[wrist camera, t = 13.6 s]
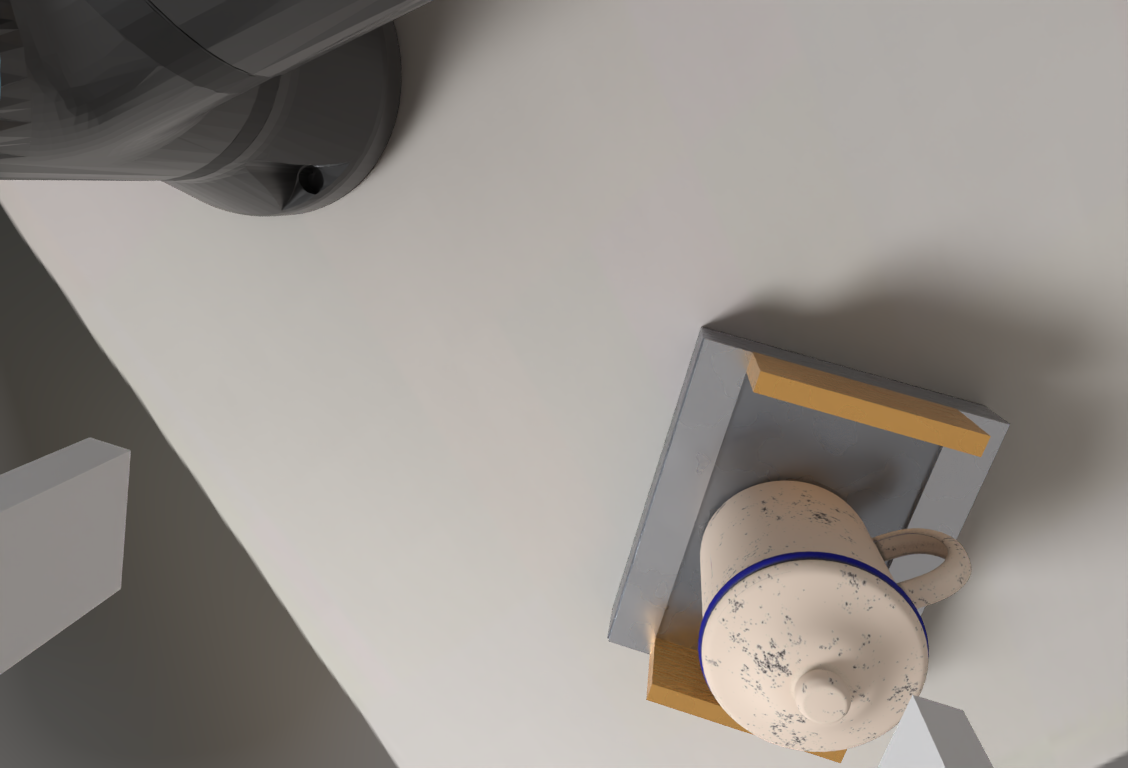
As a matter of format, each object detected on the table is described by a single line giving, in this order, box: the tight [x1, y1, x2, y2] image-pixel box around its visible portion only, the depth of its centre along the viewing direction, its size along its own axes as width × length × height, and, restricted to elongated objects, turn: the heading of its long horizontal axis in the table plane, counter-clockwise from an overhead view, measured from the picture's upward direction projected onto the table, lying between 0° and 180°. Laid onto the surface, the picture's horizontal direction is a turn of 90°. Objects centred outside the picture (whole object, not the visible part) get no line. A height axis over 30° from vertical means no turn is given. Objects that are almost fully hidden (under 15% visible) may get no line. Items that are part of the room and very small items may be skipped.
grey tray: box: [607, 327, 1010, 763], centre depth 37 cm, size 15×18×7 cm
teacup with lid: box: [698, 481, 971, 752], centre depth 32 cm, size 12×9×12 cm
